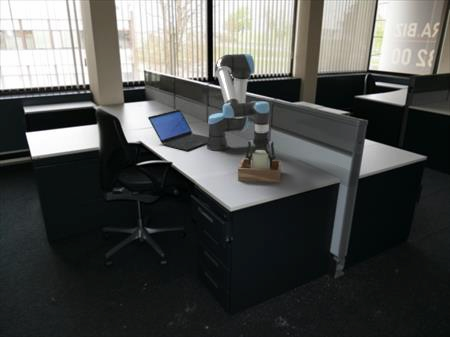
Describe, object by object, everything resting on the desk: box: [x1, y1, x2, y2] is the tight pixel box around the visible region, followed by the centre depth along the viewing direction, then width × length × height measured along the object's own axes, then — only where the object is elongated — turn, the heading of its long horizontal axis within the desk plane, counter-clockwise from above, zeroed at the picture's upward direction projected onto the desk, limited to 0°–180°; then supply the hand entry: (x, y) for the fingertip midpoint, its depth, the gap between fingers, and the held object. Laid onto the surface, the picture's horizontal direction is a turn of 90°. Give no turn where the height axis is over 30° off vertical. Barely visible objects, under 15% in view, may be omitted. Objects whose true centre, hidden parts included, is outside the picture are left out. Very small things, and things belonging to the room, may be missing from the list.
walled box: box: [237, 157, 282, 184], centre depth 193 cm, size 16×22×7 cm
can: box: [251, 149, 269, 170], centre depth 192 cm, size 9×9×12 cm
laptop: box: [147, 109, 209, 152], centre depth 254 cm, size 33×38×19 cm
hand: (260, 170), depth 194 cm, fingers closed on can, 9 cm apart
